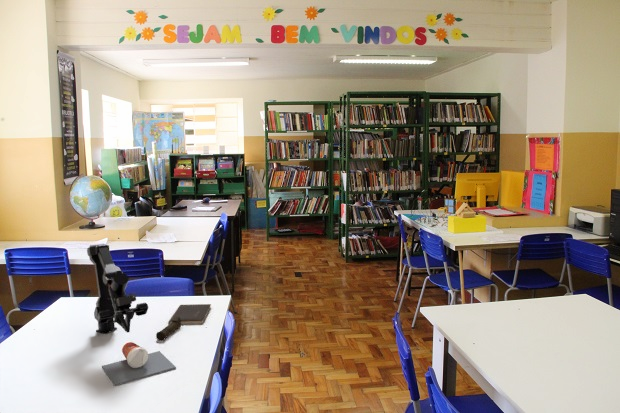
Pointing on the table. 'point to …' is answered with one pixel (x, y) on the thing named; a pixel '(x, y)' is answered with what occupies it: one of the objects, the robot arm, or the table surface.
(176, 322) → the brown wooden branch
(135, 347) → the paper cup
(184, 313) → the hardcover book
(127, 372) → the mat
